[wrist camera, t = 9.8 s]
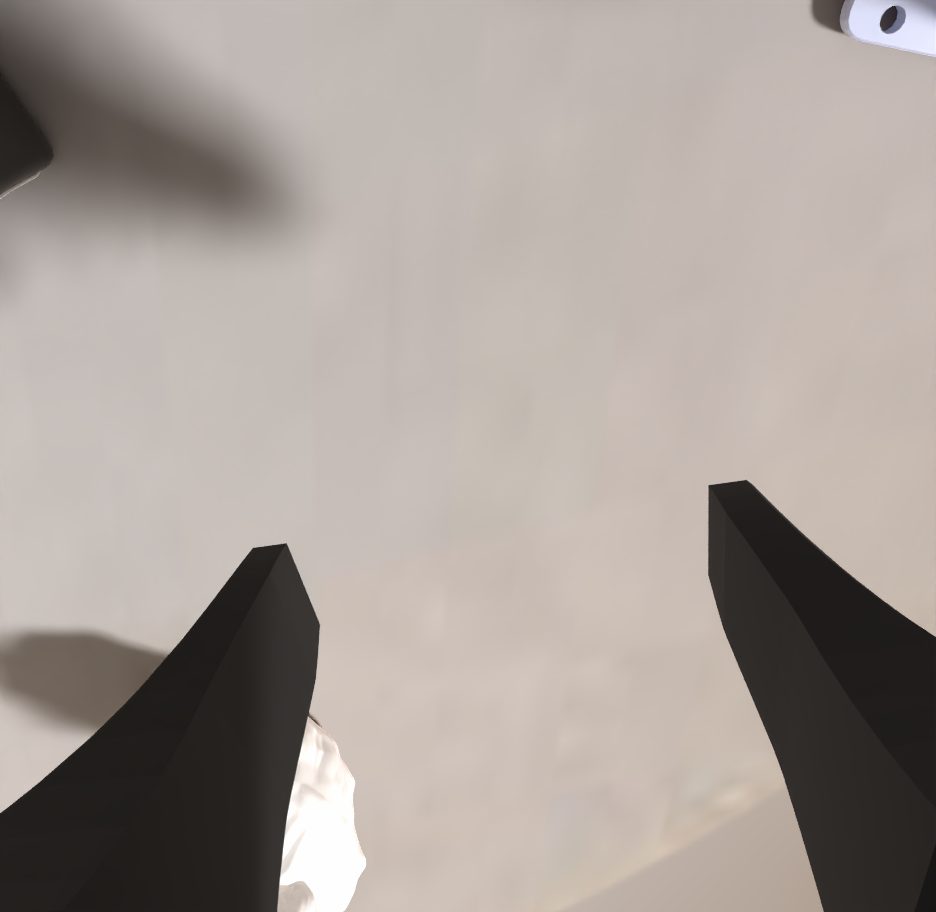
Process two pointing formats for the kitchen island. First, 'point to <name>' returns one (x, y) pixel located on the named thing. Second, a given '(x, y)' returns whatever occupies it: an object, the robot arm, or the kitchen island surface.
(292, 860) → the bust
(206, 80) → the kitchen island surface
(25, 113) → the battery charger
